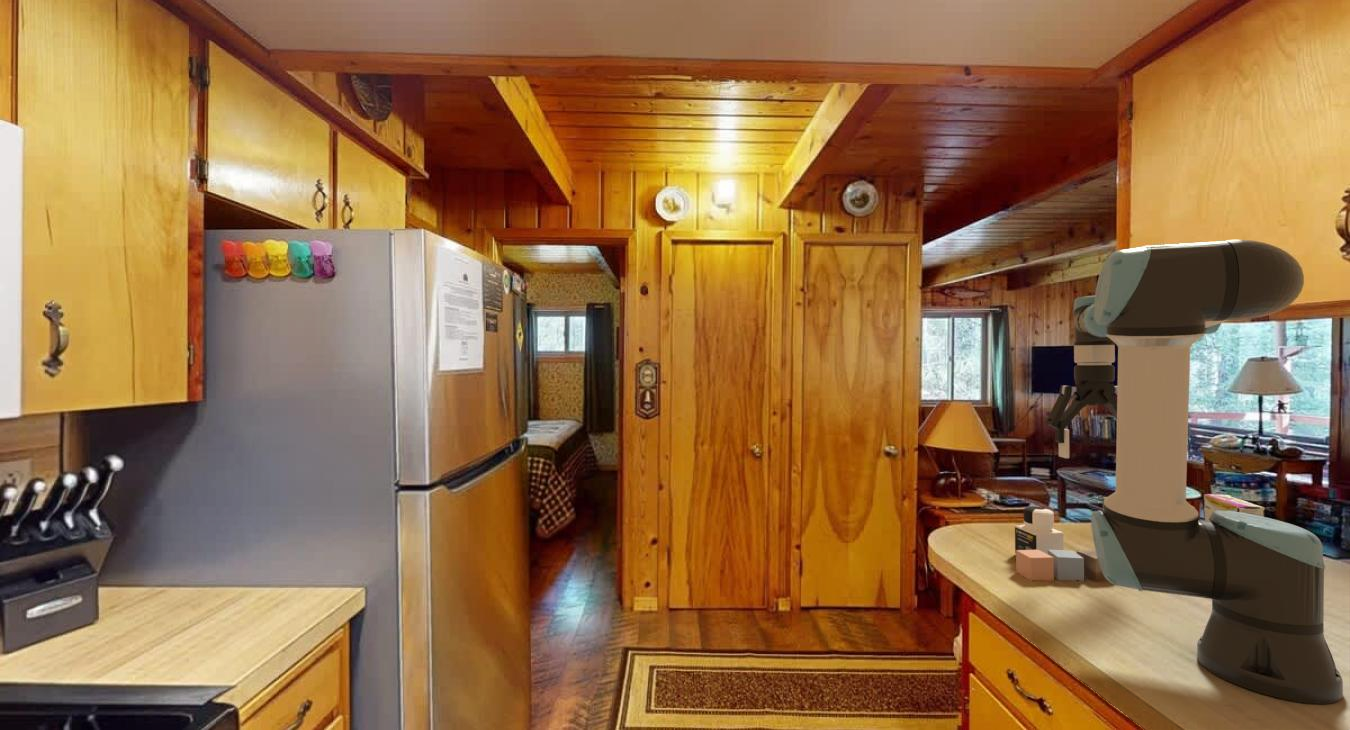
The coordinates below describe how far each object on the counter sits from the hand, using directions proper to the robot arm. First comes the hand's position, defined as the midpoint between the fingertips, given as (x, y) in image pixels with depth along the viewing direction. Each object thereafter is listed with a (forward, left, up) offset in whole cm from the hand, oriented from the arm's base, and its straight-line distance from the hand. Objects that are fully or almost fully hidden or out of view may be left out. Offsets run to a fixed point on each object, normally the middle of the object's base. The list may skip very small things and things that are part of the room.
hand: (1094, 457), depth 132 cm
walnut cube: (-7, +4, -25) cm, 26 cm away
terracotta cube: (-7, +17, -25) cm, 31 cm away
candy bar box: (-6, -25, -25) cm, 35 cm away
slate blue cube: (-7, +11, -25) cm, 28 cm away
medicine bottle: (+4, +10, -25) cm, 27 cm away
